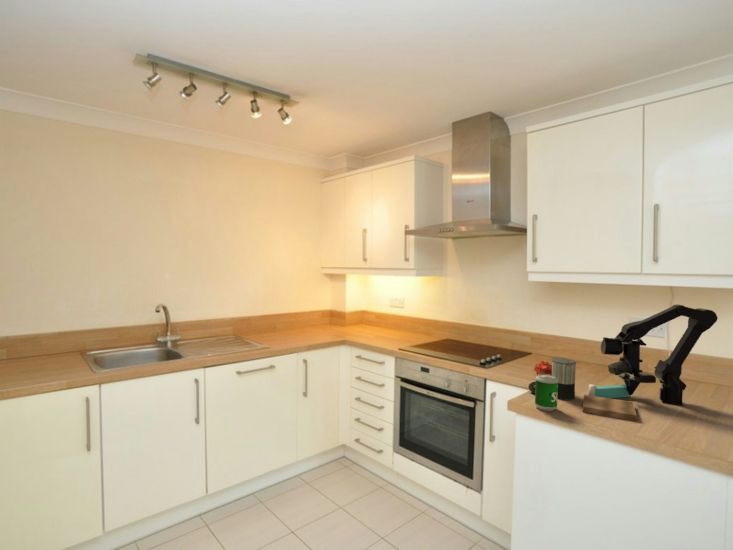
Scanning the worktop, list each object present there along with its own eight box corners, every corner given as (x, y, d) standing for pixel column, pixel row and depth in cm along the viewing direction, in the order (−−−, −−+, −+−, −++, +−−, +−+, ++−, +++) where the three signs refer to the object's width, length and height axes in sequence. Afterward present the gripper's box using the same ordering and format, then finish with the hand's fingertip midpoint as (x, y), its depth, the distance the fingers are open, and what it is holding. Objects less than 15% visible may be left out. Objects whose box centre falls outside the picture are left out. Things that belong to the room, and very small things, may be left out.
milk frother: (580, 400, 156) (582, 362, 156) (544, 401, 154) (545, 363, 154) (558, 388, 170) (559, 354, 170) (524, 390, 168) (525, 355, 168)
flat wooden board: (632, 407, 149) (632, 401, 149) (636, 421, 135) (636, 415, 135) (583, 399, 157) (583, 394, 157) (582, 412, 143) (583, 406, 143)
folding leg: (592, 399, 156) (592, 386, 156) (586, 396, 159) (587, 384, 159) (630, 396, 160) (631, 384, 160) (624, 394, 163) (624, 382, 163)
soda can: (546, 413, 141) (547, 379, 141) (530, 406, 148) (531, 374, 148) (561, 410, 144) (562, 377, 144) (545, 403, 151) (545, 372, 151)
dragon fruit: (536, 377, 193) (554, 388, 182) (525, 368, 190) (543, 379, 179) (546, 363, 194) (565, 373, 183) (536, 354, 191) (554, 364, 180)
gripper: (596, 351, 167) (596, 388, 167) (629, 361, 148) (628, 402, 148) (621, 351, 168) (621, 388, 168) (657, 361, 149) (656, 402, 149)
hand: (630, 394), depth 158 cm, fingers closed
